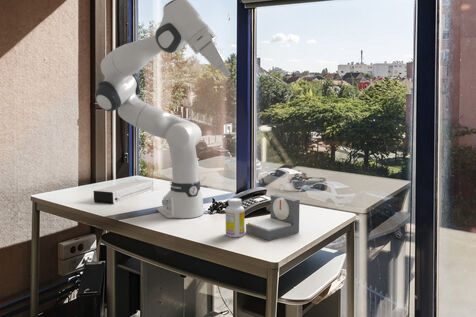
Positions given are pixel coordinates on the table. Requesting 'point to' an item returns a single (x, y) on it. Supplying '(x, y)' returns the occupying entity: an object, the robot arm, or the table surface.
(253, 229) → the dial scale
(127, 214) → the table surface
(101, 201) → the laminator
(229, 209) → the supplement bottle
